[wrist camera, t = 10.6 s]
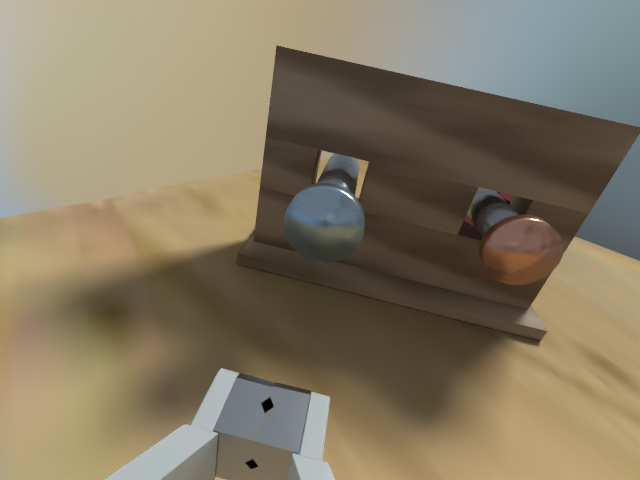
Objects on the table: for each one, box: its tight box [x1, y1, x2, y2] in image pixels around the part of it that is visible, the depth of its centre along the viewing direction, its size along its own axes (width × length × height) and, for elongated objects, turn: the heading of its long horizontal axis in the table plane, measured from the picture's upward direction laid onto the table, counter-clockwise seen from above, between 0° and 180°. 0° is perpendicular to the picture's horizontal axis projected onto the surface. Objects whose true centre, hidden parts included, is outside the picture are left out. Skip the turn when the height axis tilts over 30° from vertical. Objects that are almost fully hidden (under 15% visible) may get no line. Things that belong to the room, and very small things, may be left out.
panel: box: [237, 46, 640, 340], centre depth 27 cm, size 8×25×16 cm, turn 82°
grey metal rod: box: [284, 153, 365, 263], centre depth 24 cm, size 12×4×4 cm, turn 172°
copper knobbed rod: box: [467, 187, 563, 285], centre depth 26 cm, size 12×4×4 cm, turn 172°
